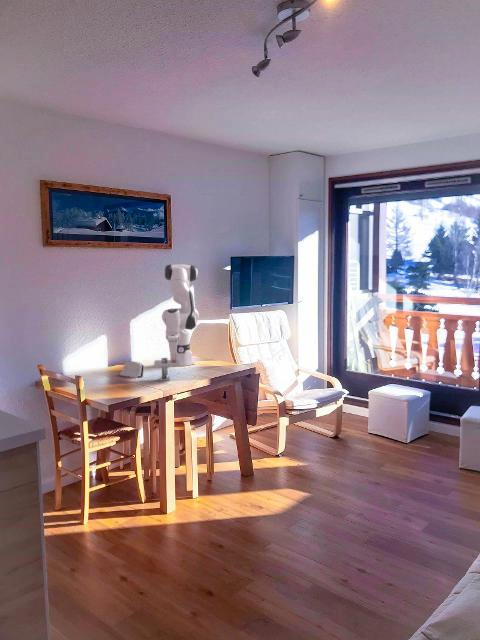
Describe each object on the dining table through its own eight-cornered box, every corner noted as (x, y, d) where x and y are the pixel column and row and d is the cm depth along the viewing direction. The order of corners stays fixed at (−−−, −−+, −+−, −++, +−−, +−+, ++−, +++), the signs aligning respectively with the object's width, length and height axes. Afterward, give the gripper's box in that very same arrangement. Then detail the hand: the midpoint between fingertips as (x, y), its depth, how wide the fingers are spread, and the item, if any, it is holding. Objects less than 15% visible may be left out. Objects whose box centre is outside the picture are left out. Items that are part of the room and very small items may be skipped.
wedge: (172, 366, 335) (171, 346, 334) (175, 365, 335) (175, 346, 334) (172, 366, 333) (171, 347, 331) (175, 366, 333) (175, 346, 332)
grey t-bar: (155, 378, 338) (154, 357, 337) (179, 377, 340) (179, 356, 339) (154, 381, 329) (153, 360, 327) (179, 380, 330) (179, 359, 329)
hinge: (119, 374, 349) (123, 359, 350) (125, 376, 352) (128, 360, 354) (137, 378, 339) (141, 362, 340) (143, 379, 342) (146, 363, 344)
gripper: (168, 333, 342) (168, 355, 343) (167, 338, 322) (167, 361, 323) (178, 333, 342) (178, 355, 344) (178, 338, 322) (178, 361, 324)
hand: (173, 358), depth 333 cm, fingers closed on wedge, 2 cm apart
